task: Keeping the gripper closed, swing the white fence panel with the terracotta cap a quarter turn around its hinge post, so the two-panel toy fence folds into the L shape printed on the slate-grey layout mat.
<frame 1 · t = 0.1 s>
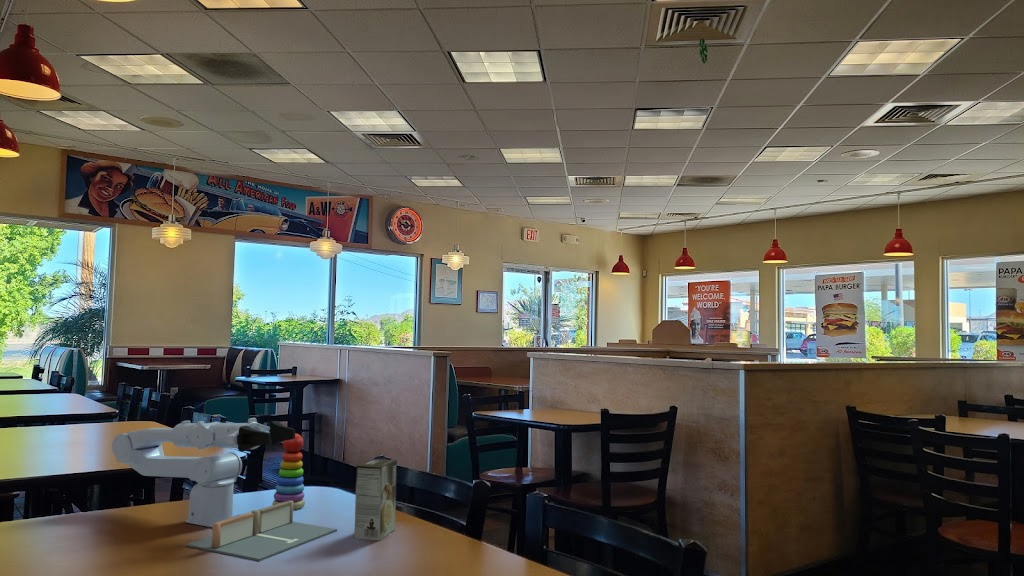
hand: (282, 436, 159), 22 cm above the table, tool horizontal, fingers open, 7 cm apart
fence fixed: (254, 536, 155), resting on layout mat
coffee box: (374, 535, 159), on the table
hinged fence panel: (232, 529, 150), point 3 cm above the table, hinge at 0.0°
layout mat: (265, 538, 154), on the table
stacking toy: (288, 508, 181), on the table
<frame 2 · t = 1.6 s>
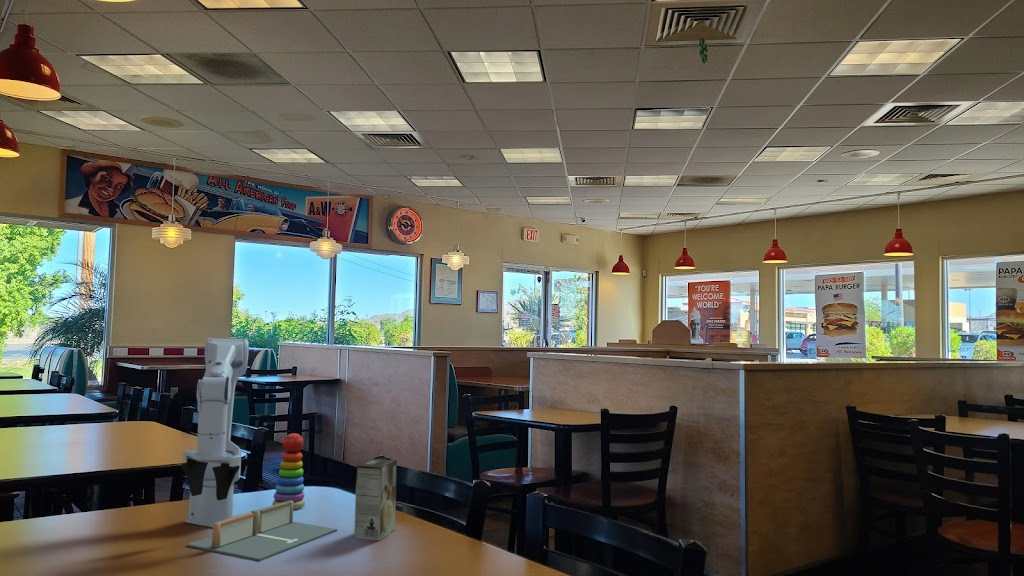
hand: (209, 497, 151), 9 cm above the table, tool pointing down, fingers open, 7 cm apart
nothing on the table moved.
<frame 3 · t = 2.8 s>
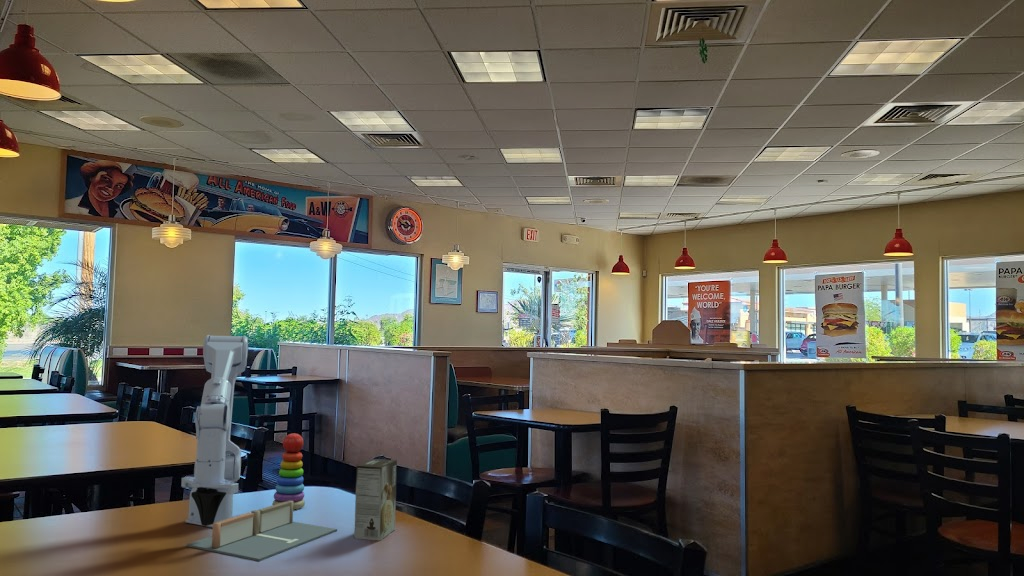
hand: (207, 524, 151), 4 cm above the table, tool pointing down, fingers closed
nothing on the table moved.
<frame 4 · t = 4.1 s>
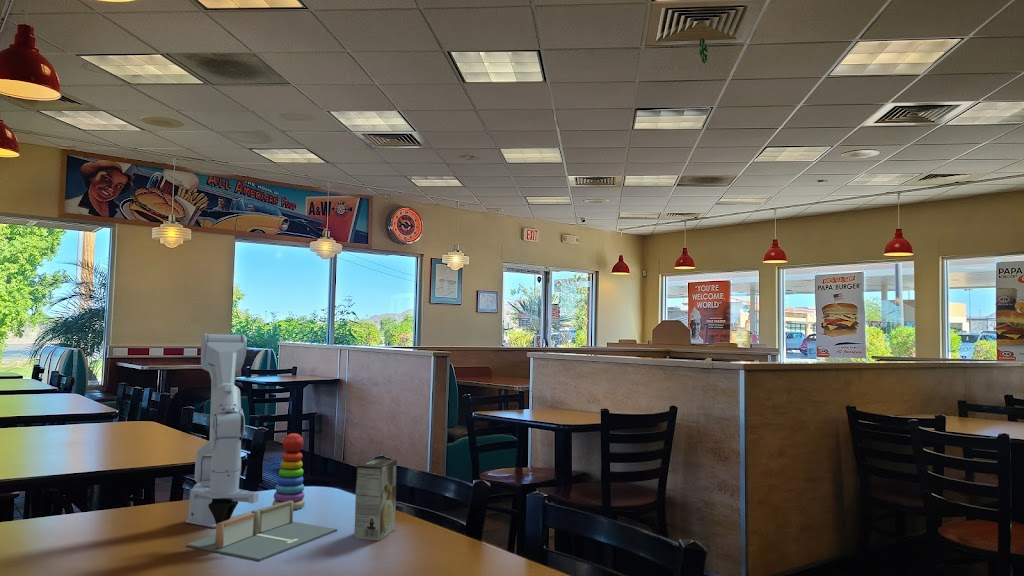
hand: (222, 535, 149), 2 cm above the table, tool pointing down, fingers closed
hinged fence panel: (234, 530, 150), point 3 cm above the table, hinge at 4.8°, touching gripper
everything else where it was.
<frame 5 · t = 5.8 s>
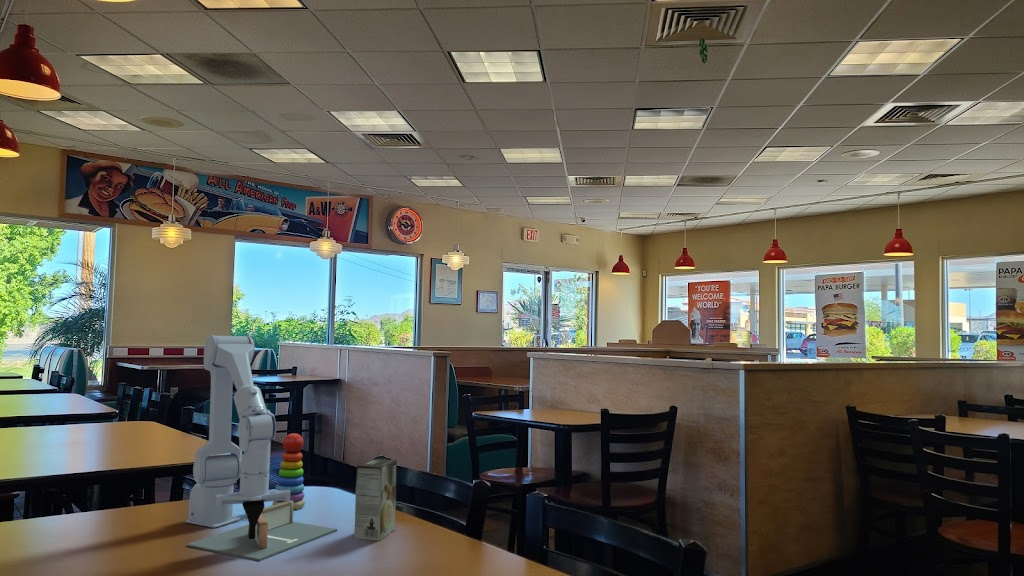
hand: (251, 537, 148), 2 cm above the table, tool pointing down, fingers closed
hinged fence panel: (260, 530, 150), point 3 cm above the table, hinge at 53.0°, touching gripper
everything else where it was.
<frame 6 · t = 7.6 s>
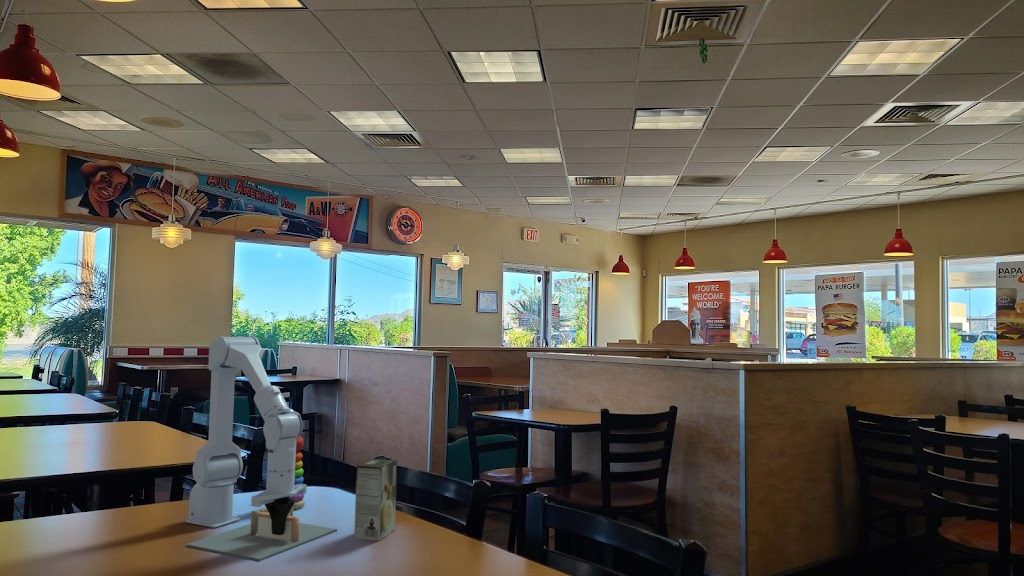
hand: (278, 534, 151), 2 cm above the table, tool pointing down, fingers closed
hinged fence panel: (278, 526, 153), point 3 cm above the table, hinge at 92.7°, touching gripper
everything else where it was.
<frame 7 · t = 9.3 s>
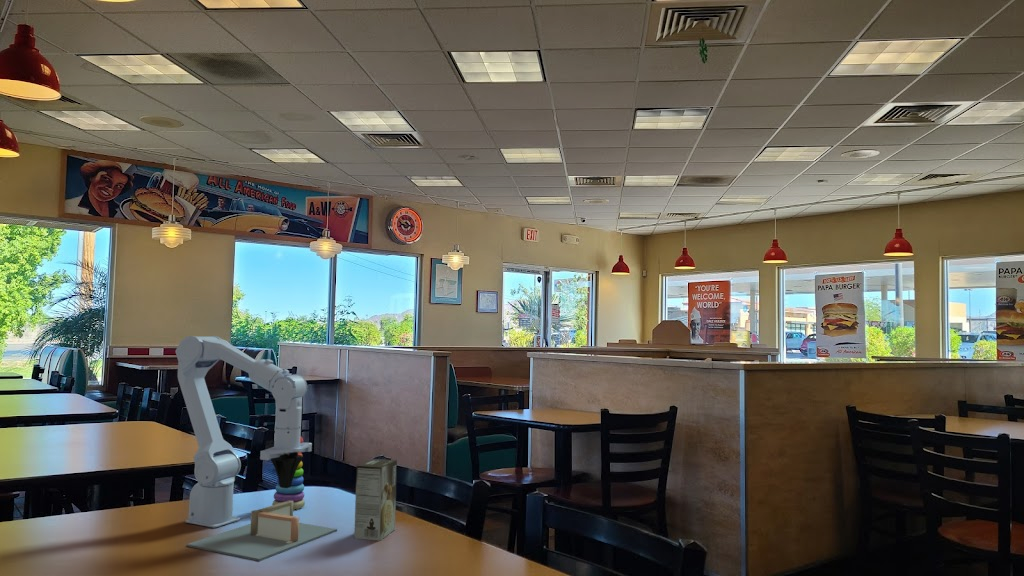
hand: (285, 487, 162), 9 cm above the table, tool pointing down, fingers closed
hinged fence panel: (278, 526, 153), point 3 cm above the table, hinge at 92.1°
everything else where it was.
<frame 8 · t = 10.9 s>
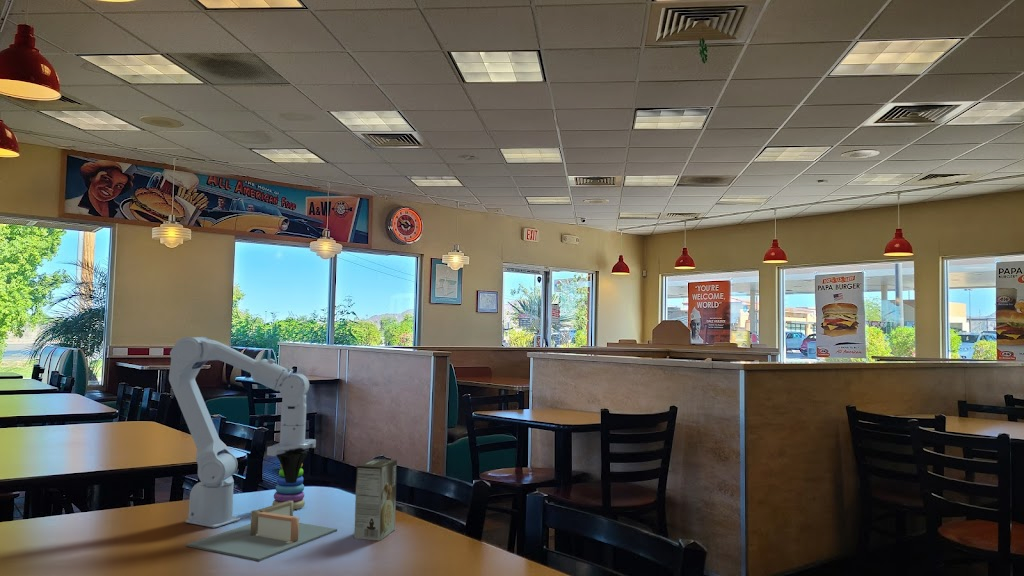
hand: (290, 482, 167), 9 cm above the table, tool pointing down, fingers closed
nothing on the table moved.
at the end: hinged fence panel at +92° (first picture: +0°) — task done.
